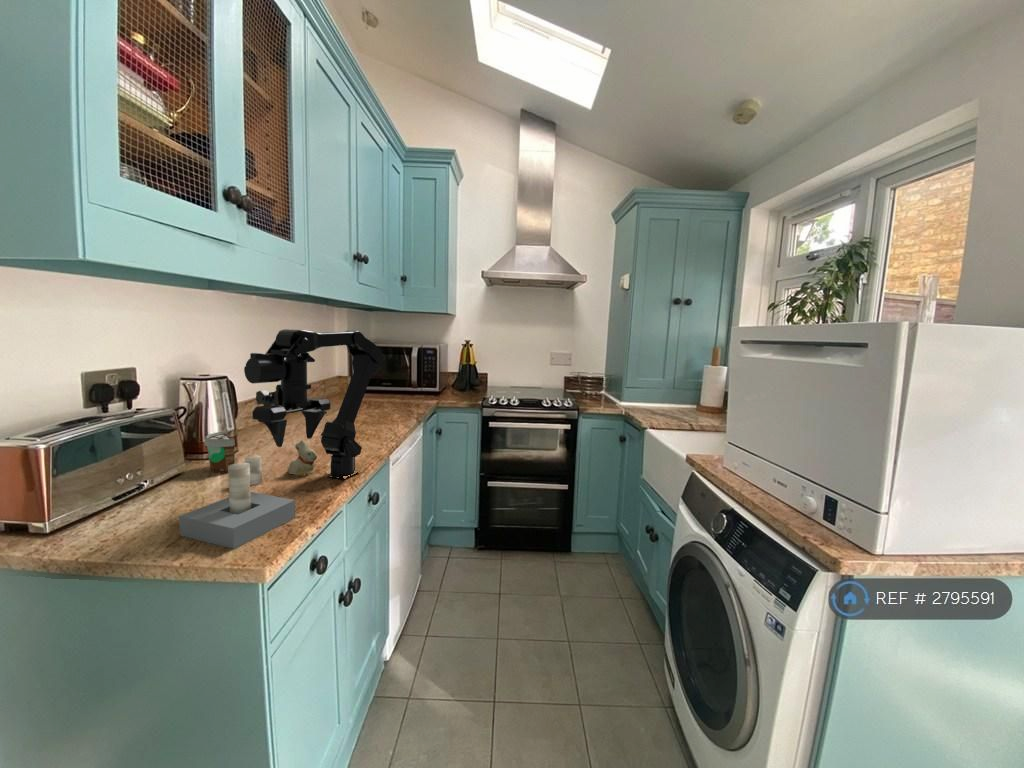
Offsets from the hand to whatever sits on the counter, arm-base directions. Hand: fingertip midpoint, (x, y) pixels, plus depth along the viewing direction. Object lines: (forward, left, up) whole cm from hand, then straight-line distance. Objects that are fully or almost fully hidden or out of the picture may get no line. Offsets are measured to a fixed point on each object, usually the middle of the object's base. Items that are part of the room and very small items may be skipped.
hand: (294, 442), depth 98 cm
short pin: (-1, -15, -13) cm, 20 cm away
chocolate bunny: (-12, -10, -13) cm, 21 cm away
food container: (-5, -33, -13) cm, 36 cm away
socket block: (+18, +4, -13) cm, 23 cm away
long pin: (+18, +4, -13) cm, 23 cm away
